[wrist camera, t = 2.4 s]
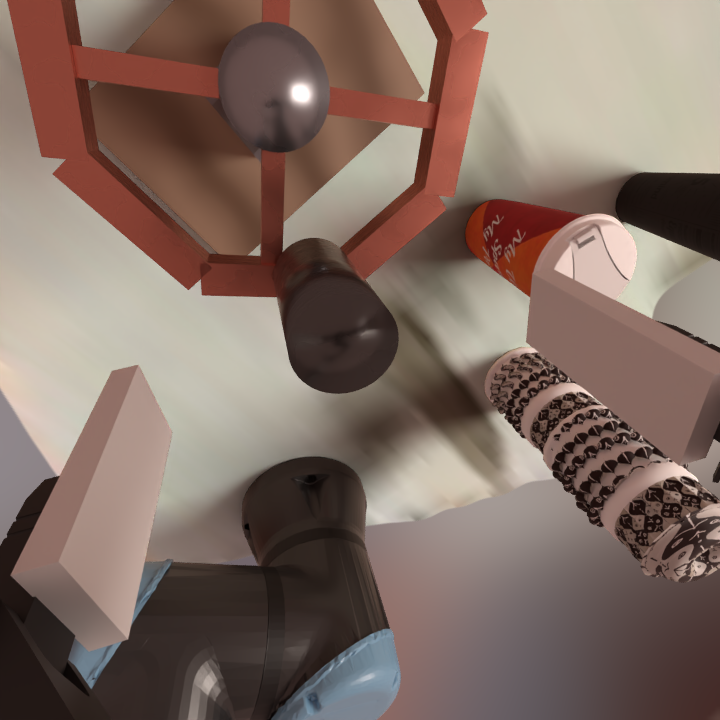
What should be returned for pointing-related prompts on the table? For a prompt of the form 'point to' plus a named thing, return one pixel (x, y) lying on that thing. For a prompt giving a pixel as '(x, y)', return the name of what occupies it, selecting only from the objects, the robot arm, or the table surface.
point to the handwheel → (264, 167)
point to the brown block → (215, 132)
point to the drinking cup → (675, 208)
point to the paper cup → (552, 245)
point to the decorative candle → (610, 468)
